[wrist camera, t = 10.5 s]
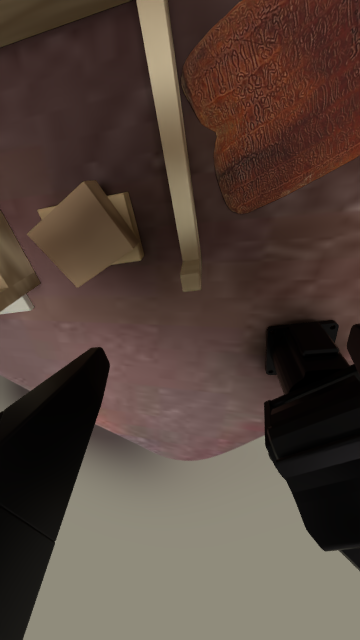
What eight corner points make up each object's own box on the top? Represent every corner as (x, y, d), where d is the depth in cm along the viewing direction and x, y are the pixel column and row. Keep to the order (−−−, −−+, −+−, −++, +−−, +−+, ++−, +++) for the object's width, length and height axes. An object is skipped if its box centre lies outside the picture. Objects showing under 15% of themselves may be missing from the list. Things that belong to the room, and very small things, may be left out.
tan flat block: (139, 241, 18) (133, 248, 17) (87, 278, 20) (77, 288, 19) (95, 180, 16) (83, 181, 14) (42, 228, 18) (26, 234, 17)
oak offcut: (145, 253, 21) (141, 260, 19) (75, 263, 22) (65, 271, 20) (130, 190, 18) (122, 193, 16) (51, 206, 19) (37, 210, 18)
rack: (201, 259, 20) (201, 289, 15) (30, 284, 23) (-19, 317, 18) (161, -51, 11) (128, -220, 6) (-105, 52, 14) (-268, -9, 9)
